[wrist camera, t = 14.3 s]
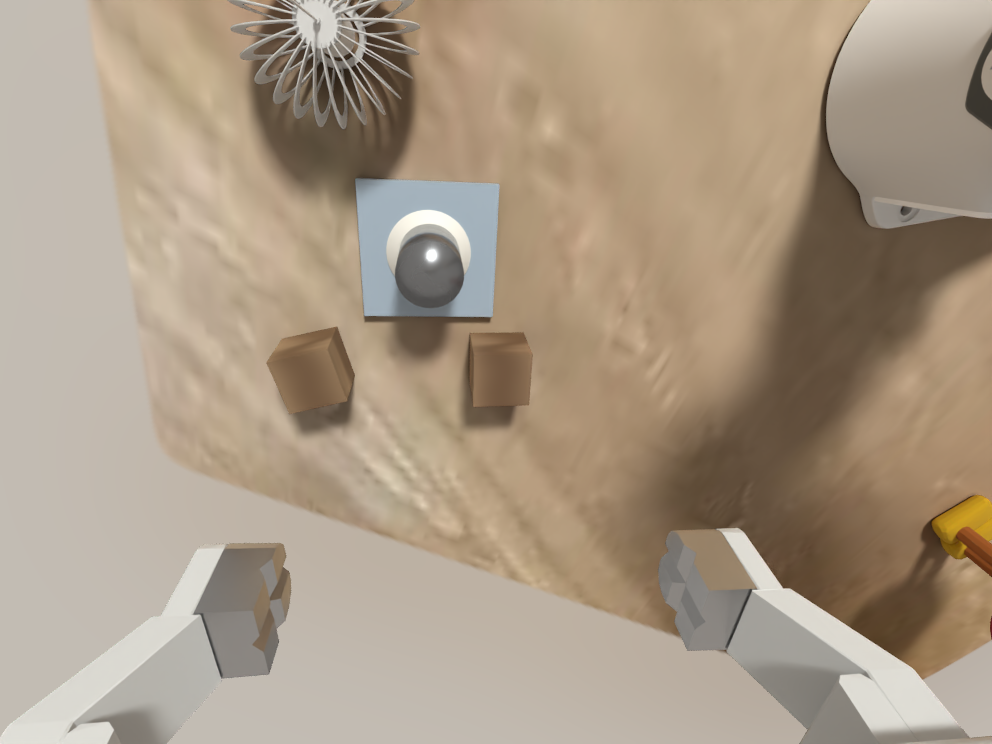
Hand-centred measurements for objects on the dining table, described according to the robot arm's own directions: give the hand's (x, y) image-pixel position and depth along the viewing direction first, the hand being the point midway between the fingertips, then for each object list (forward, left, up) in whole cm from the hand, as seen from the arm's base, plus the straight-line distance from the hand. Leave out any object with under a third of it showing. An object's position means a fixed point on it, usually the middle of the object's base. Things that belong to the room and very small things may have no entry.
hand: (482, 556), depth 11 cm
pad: (+1, 0, -27) cm, 27 cm away
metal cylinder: (+1, 0, -27) cm, 27 cm away
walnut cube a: (-4, +8, -27) cm, 29 cm away
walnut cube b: (+9, +8, -27) cm, 30 cm away
